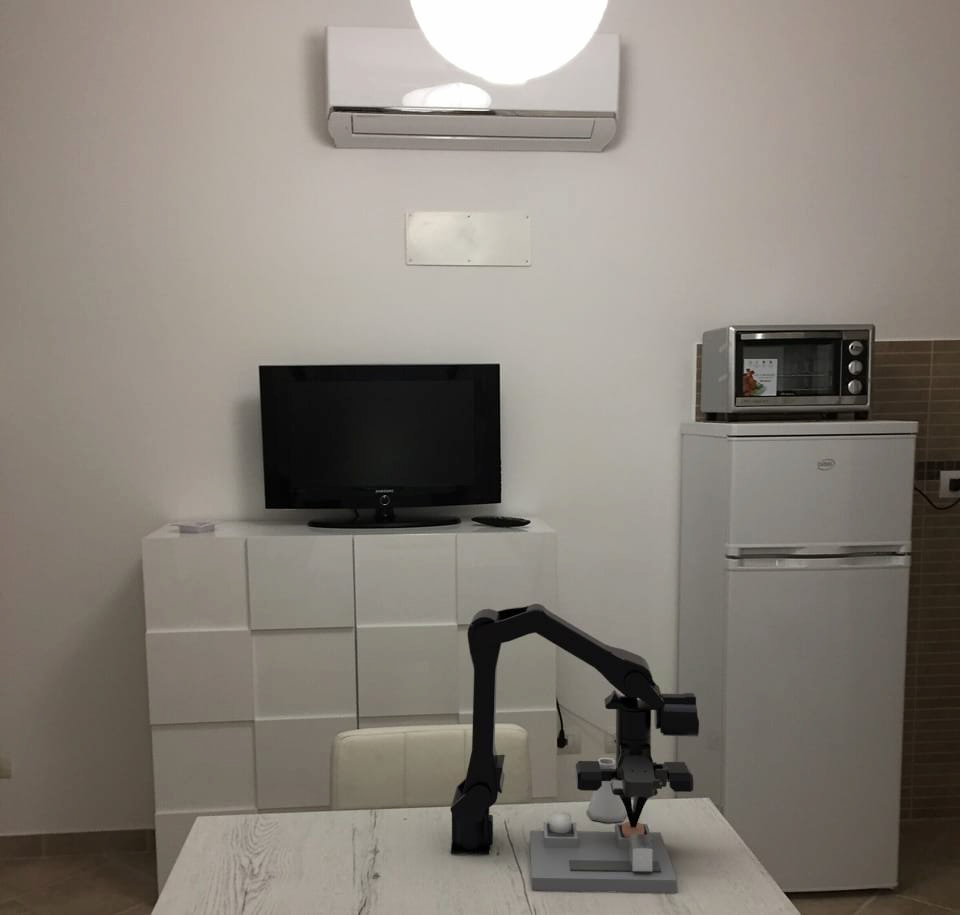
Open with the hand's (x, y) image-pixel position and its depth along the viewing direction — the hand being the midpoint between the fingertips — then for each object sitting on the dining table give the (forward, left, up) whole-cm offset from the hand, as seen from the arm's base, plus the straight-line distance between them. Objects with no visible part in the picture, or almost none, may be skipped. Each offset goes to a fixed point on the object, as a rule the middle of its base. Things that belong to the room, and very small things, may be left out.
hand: (632, 826), depth 144 cm
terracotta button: (0, 0, -2) cm, 2 cm away
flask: (-3, +13, -5) cm, 15 cm away
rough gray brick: (0, -8, -2) cm, 9 cm away
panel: (-6, -5, -4) cm, 9 cm away
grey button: (-12, 0, 0) cm, 12 cm away
